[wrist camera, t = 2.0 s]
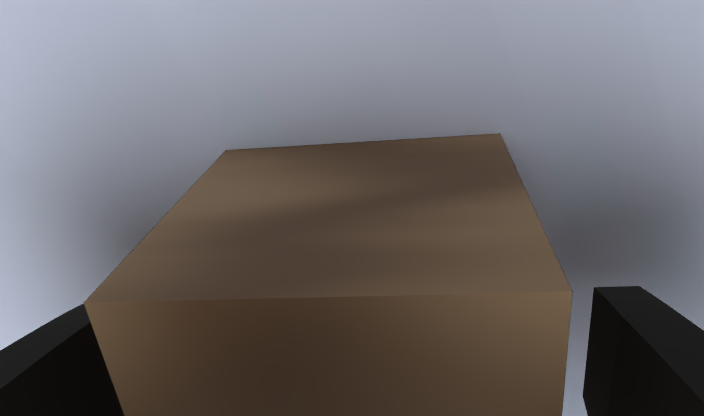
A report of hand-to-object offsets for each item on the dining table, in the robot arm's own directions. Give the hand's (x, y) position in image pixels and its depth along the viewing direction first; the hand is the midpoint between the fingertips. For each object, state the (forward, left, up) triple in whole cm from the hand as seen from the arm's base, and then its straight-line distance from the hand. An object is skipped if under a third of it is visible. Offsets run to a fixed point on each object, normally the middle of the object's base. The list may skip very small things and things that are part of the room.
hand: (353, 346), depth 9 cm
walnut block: (0, 0, -3) cm, 3 cm away
